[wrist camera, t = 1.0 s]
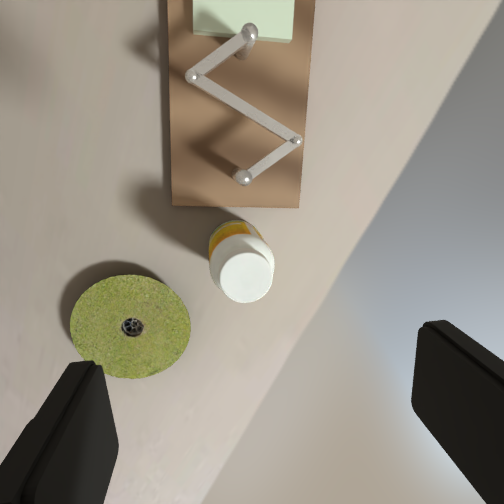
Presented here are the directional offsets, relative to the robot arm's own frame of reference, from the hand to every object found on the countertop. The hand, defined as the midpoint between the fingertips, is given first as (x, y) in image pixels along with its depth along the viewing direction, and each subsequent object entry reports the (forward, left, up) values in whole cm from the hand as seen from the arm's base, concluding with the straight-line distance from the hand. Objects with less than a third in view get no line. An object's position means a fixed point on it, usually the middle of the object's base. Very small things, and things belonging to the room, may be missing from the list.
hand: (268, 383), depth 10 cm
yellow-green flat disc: (-10, +9, -25) cm, 28 cm away
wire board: (+12, -1, -25) cm, 28 cm away
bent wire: (+10, -1, -24) cm, 25 cm away
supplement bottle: (-2, -1, -25) cm, 25 cm away
